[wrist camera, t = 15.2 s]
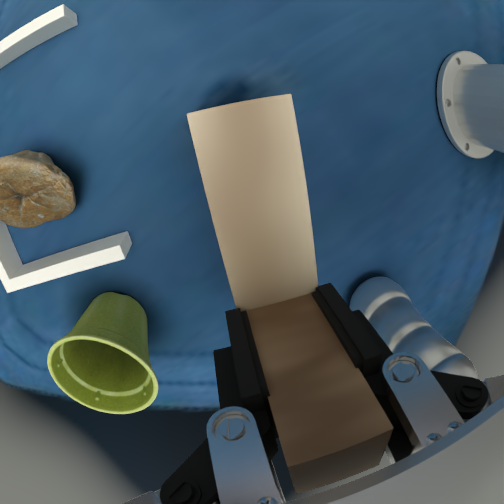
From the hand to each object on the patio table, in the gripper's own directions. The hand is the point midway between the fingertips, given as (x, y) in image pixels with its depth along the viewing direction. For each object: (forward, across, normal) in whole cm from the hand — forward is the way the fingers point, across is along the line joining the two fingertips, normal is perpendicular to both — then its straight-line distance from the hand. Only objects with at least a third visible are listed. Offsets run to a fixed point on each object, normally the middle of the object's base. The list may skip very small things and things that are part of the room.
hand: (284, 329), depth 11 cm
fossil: (+16, +16, -7) cm, 24 cm away
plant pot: (+16, +14, +8) cm, 22 cm away
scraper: (+3, 0, 0) cm, 3 cm away
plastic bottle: (+16, -12, +13) cm, 24 cm away
